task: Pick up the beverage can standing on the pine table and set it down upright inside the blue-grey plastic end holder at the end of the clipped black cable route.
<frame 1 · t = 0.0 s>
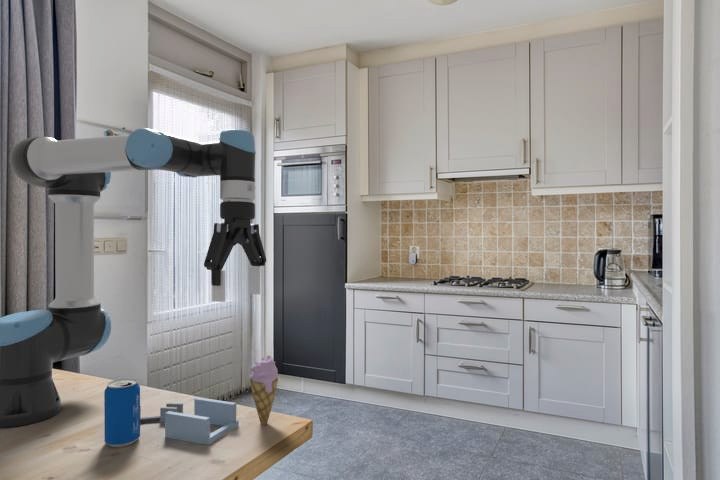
hand: (237, 297, 109), 28 cm above the table, fingers open, 13 cm apart
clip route: (151, 420, 110), on the table
ice cream cone: (264, 425, 108), on the table
end holder: (199, 430, 105), on the table
beverage can: (122, 442, 99), on the table
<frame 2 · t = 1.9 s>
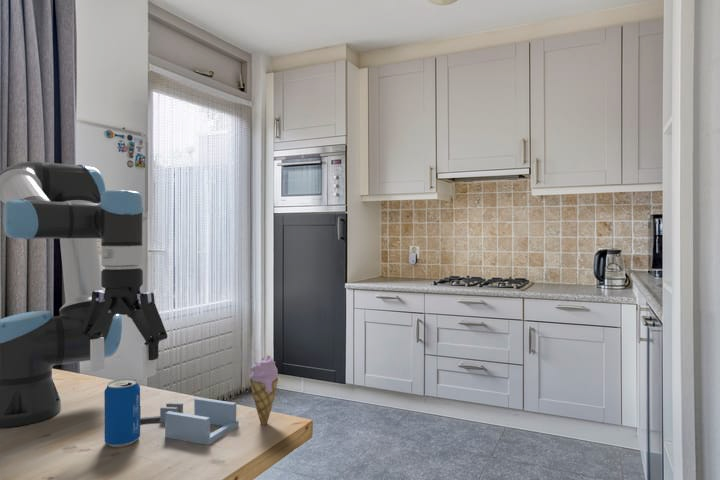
hand: (122, 373, 99), 14 cm above the table, fingers open, 13 cm apart
nothing on the table moved.
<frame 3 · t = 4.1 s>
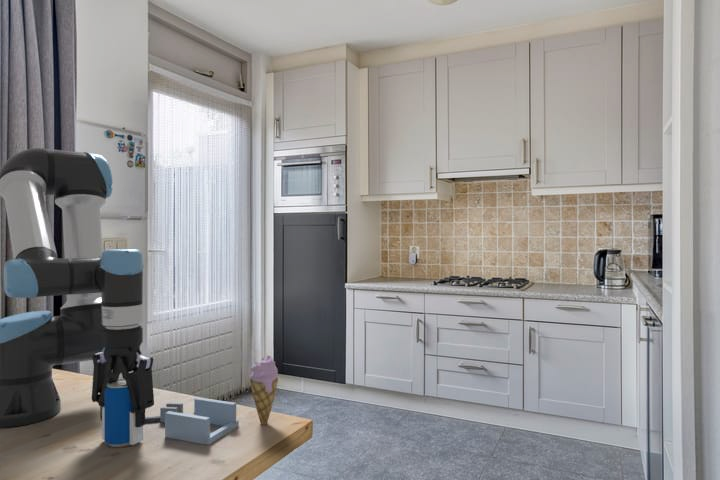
hand: (122, 439, 99), 0 cm above the table, fingers closed on beverage can, 6 cm apart
beverage can: (122, 442, 99), on the table, touching gripper
everything else where it was.
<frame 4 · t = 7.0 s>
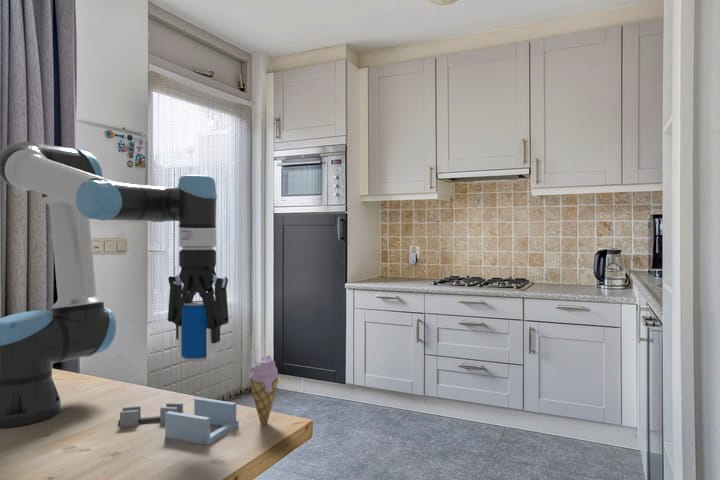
hand: (197, 356, 105), 16 cm above the table, fingers closed on beverage can, 6 cm apart
beverage can: (197, 359, 105), point 15 cm above the table, touching gripper
everything else where it was.
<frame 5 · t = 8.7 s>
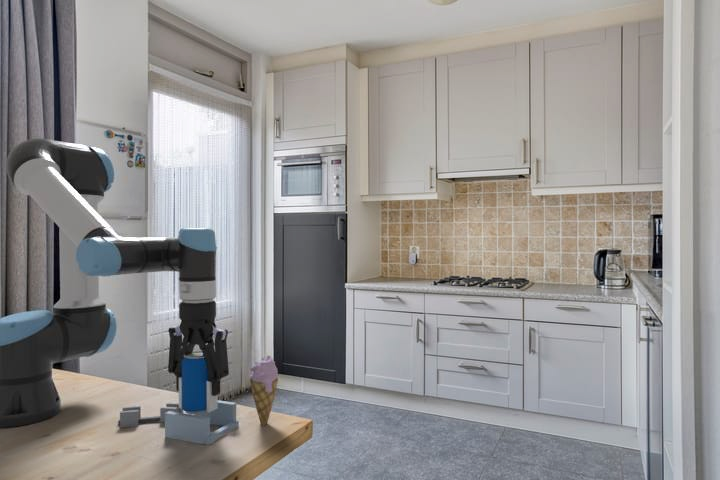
hand: (198, 407, 105), 5 cm above the table, fingers closed on beverage can, 6 cm apart
beverage can: (198, 411, 105), point 4 cm above the table, touching gripper
everything else where it was.
when the fingers open (2 cm above the table, at t = 10.0 s): beverage can drops 2 cm, on the table.
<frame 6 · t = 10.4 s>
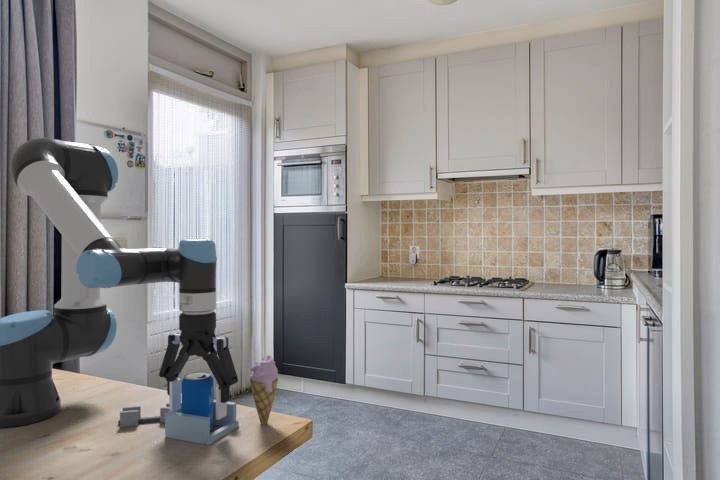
hand: (197, 413, 105), 4 cm above the table, fingers open, 11 cm apart
beverage can: (197, 431, 105), on the table
everything else where it was.
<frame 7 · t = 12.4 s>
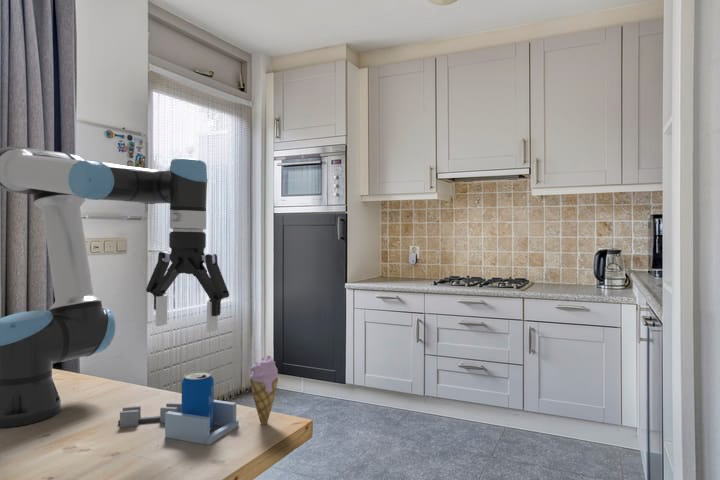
hand: (186, 328, 107), 21 cm above the table, fingers open, 13 cm apart
nothing on the table moved.
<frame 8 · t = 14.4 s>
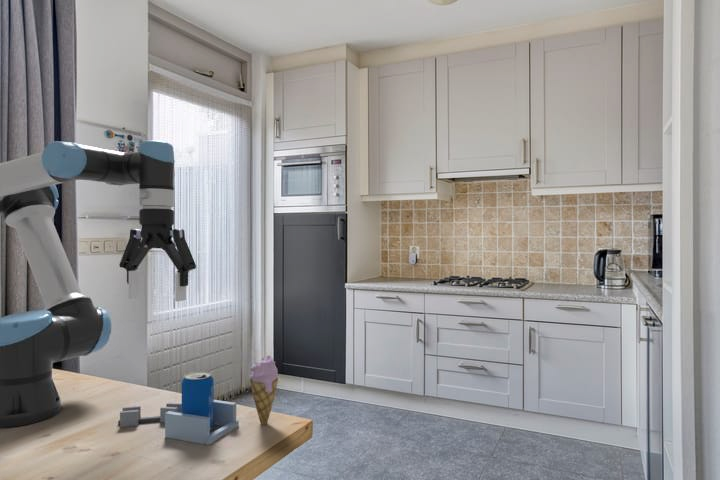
hand: (157, 299, 115), 27 cm above the table, fingers open, 13 cm apart
nothing on the table moved.
at the end: beverage can inside the target area on the end holder (0.3 cm from its centre), point 0.0 cm above the end holder's base; beverage can tilted 0°; the gripper is holding nothing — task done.
